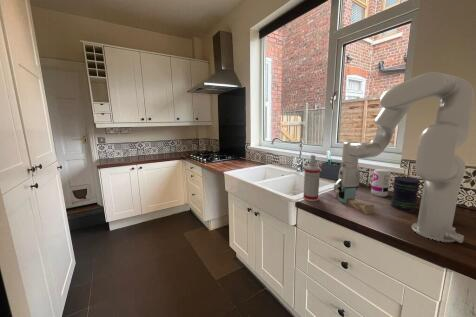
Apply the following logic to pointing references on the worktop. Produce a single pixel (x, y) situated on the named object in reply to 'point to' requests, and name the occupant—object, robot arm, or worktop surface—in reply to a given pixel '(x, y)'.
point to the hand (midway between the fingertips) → (346, 197)
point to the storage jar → (405, 193)
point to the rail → (355, 203)
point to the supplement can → (380, 182)
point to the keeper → (348, 194)
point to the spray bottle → (311, 180)
